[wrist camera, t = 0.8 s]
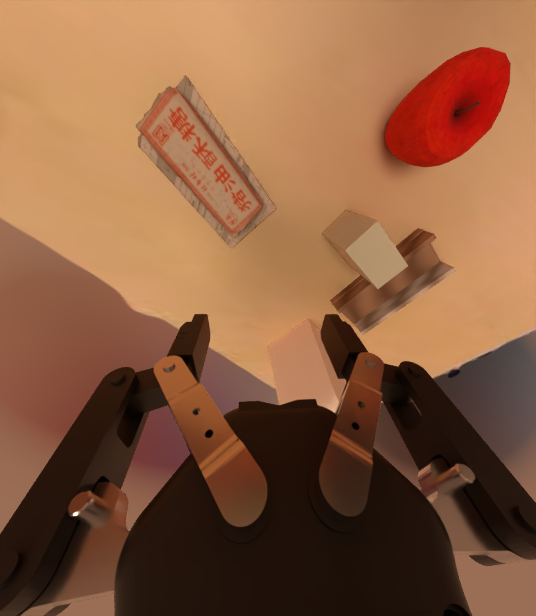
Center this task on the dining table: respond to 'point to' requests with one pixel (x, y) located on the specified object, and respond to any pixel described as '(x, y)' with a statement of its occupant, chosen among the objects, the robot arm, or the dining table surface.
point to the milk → (304, 368)
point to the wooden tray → (394, 284)
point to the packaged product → (203, 162)
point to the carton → (365, 247)
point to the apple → (450, 108)
